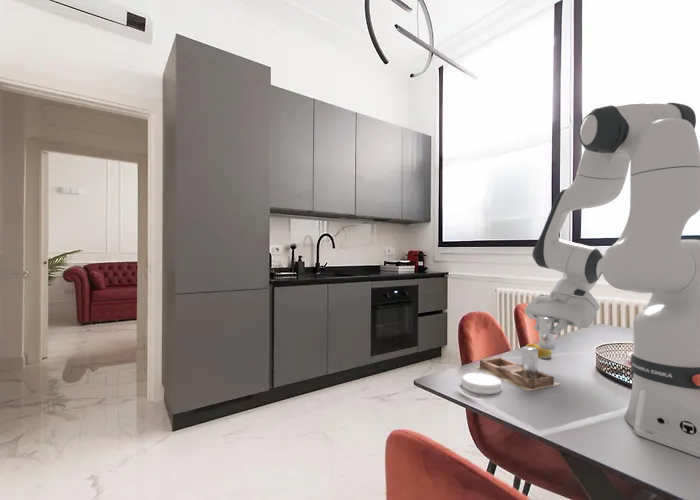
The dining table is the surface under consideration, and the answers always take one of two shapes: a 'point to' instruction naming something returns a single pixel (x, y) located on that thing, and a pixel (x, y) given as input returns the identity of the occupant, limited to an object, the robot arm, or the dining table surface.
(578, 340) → the dining table surface
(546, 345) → the glass pepper shaker
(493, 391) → the coaster
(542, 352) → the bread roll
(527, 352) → the seated billet
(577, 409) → the dining table surface
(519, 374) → the wooden compartment tray
